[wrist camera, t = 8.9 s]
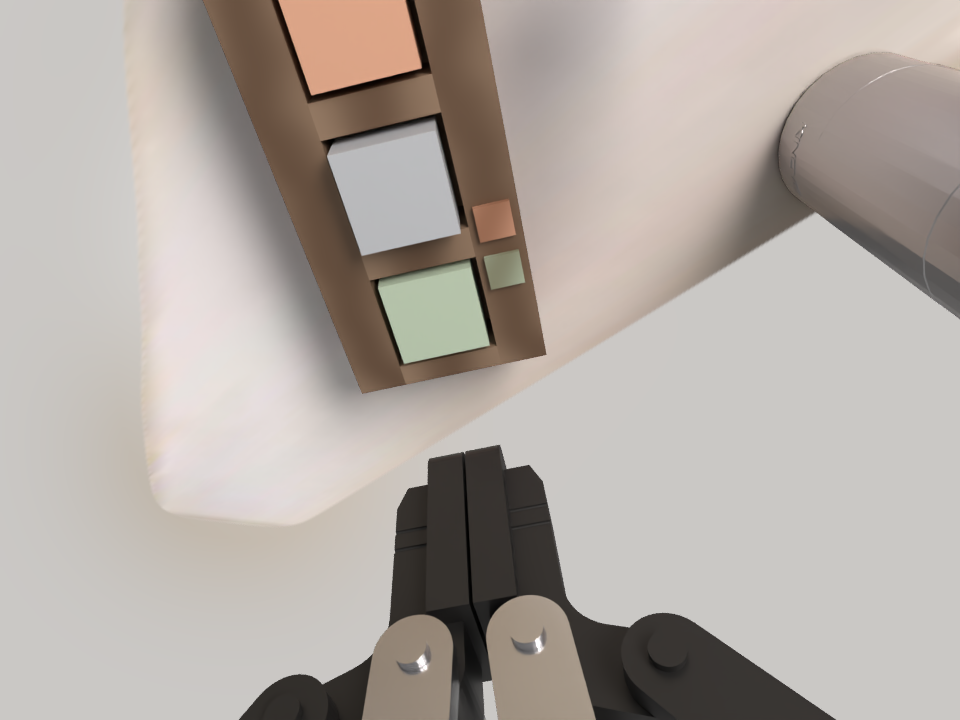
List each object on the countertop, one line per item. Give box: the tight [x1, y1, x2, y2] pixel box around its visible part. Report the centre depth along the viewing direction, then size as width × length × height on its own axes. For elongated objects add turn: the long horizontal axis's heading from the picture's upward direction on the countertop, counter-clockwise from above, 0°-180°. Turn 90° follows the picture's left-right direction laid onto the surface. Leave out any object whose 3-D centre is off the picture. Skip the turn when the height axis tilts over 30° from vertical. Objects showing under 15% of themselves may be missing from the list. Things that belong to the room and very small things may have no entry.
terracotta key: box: [279, 0, 422, 95], centre depth 30 cm, size 5×5×3 cm
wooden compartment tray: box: [203, 0, 546, 394], centre depth 36 cm, size 12×25×6 cm, turn 12°
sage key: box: [378, 258, 490, 364], centre depth 39 cm, size 5×5×3 cm
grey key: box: [327, 115, 461, 256], centre depth 33 cm, size 5×5×3 cm
